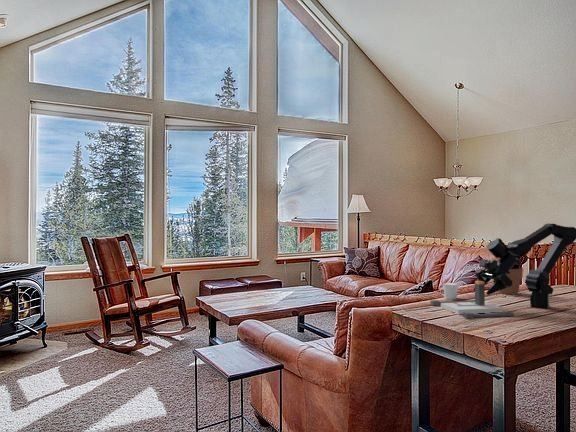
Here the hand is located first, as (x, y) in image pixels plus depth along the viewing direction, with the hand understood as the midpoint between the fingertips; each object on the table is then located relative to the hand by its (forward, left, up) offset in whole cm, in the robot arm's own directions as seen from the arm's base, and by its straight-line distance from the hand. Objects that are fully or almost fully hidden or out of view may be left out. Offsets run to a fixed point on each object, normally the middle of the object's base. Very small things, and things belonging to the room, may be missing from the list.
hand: (480, 292), depth 187 cm
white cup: (+20, -19, -8) cm, 28 cm away
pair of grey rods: (+3, +3, -7) cm, 9 cm away
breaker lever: (0, 0, -5) cm, 5 cm away
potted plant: (+2, -51, -8) cm, 52 cm away
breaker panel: (+3, +3, -7) cm, 9 cm away
